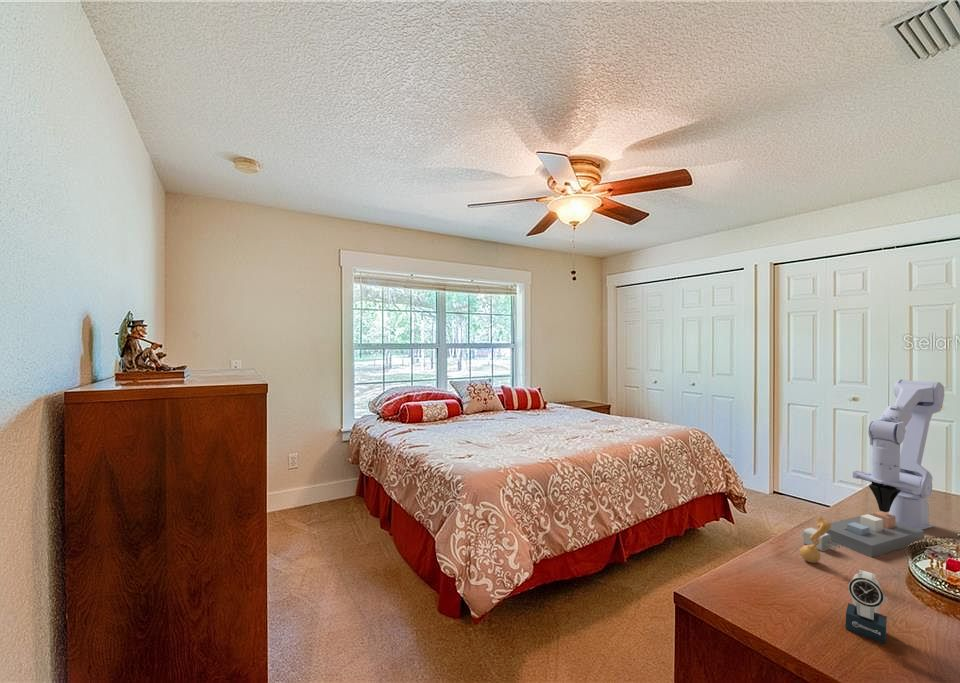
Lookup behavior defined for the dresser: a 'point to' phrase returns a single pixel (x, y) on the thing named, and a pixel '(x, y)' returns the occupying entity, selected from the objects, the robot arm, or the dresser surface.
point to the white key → (872, 522)
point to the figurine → (815, 542)
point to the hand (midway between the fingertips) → (884, 511)
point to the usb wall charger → (823, 540)
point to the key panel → (874, 537)
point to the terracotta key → (886, 519)
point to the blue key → (858, 529)
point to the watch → (866, 607)
